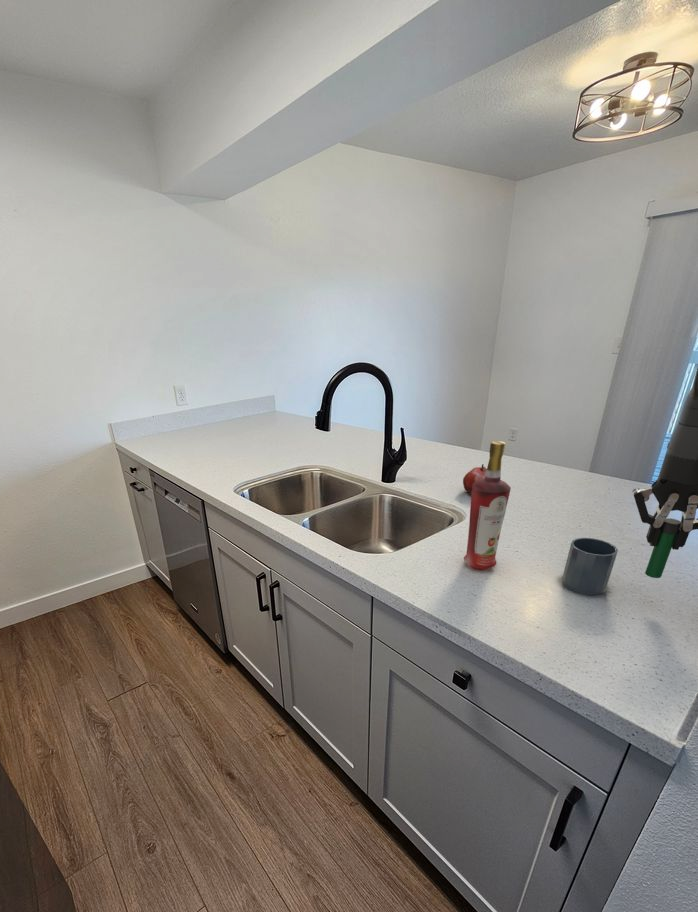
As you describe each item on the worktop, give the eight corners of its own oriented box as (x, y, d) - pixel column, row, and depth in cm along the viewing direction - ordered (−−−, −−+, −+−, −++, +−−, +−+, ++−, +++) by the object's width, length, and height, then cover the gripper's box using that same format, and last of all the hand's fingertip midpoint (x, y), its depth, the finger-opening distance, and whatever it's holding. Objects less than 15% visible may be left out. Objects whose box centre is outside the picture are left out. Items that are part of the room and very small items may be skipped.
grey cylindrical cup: (586, 573, 93) (597, 536, 89) (614, 593, 86) (627, 553, 82) (553, 577, 92) (562, 540, 88) (579, 597, 85) (590, 557, 81)
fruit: (460, 487, 143) (464, 458, 138) (491, 489, 140) (496, 458, 136) (462, 497, 135) (466, 466, 131) (495, 499, 132) (500, 467, 128)
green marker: (653, 570, 82) (672, 517, 77) (665, 577, 80) (685, 523, 75) (640, 572, 82) (658, 519, 77) (652, 579, 80) (671, 524, 75)
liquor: (484, 555, 102) (503, 437, 90) (503, 571, 95) (526, 445, 83) (455, 560, 101) (470, 440, 89) (472, 575, 94) (491, 449, 82)
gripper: (645, 454, 71) (617, 548, 79) (763, 461, 64) (719, 563, 72) (640, 443, 77) (614, 531, 84) (747, 449, 70) (709, 544, 78)
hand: (663, 545), depth 78 cm, fingers closed on green marker, 2 cm apart
